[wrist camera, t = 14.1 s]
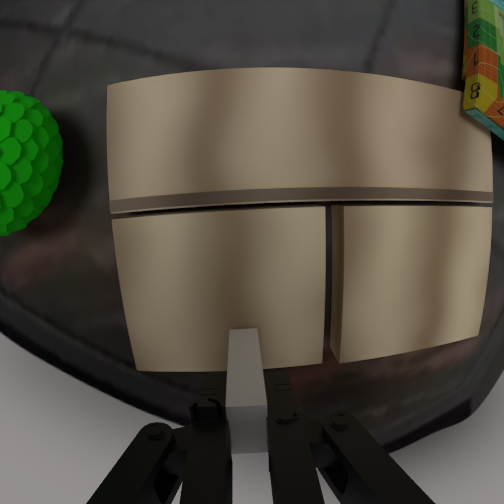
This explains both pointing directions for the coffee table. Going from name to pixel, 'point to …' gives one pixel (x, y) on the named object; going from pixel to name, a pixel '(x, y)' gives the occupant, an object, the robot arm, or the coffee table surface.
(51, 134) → the ornament
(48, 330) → the coffee table surface
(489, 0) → the puzzle game
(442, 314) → the plank
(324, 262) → the plank
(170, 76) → the laid board
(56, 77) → the coffee table surface
